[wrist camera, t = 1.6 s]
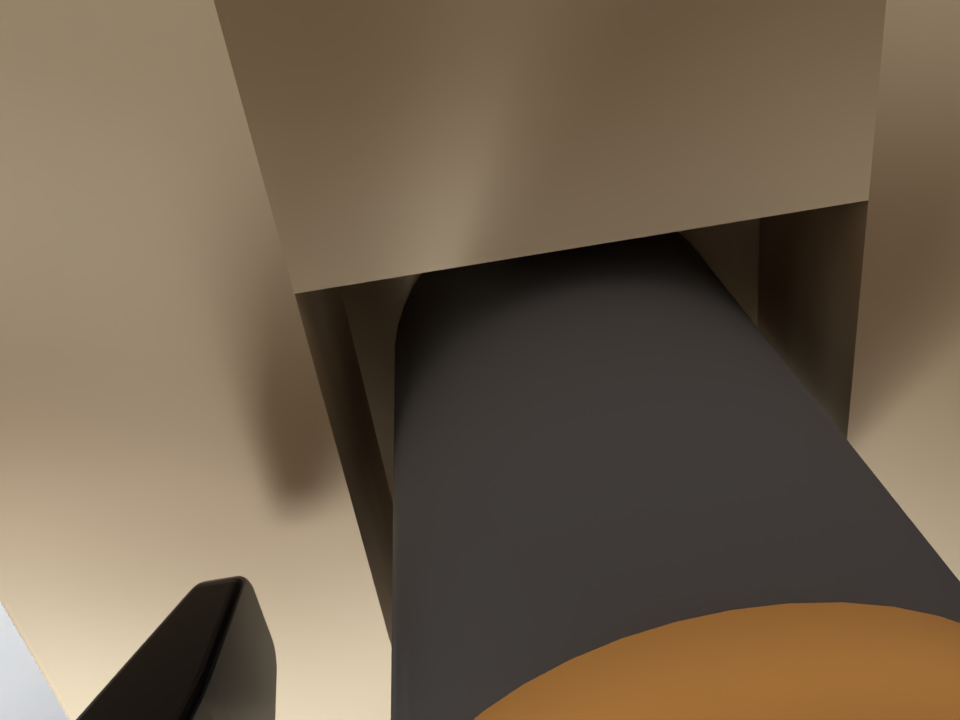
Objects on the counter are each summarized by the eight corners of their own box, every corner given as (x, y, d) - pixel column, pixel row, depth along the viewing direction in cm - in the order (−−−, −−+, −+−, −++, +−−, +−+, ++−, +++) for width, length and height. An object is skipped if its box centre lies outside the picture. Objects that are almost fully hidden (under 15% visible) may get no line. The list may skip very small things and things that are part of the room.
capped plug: (727, 464, 11) (1093, 1118, 5) (422, 514, 11) (446, 1225, 5) (729, 163, 9) (1319, 678, 3) (357, 224, 9) (279, 849, 3)
